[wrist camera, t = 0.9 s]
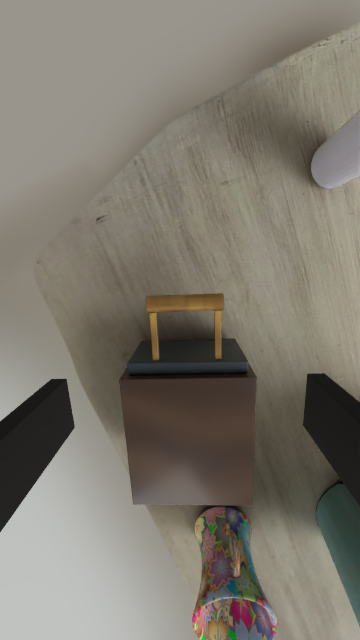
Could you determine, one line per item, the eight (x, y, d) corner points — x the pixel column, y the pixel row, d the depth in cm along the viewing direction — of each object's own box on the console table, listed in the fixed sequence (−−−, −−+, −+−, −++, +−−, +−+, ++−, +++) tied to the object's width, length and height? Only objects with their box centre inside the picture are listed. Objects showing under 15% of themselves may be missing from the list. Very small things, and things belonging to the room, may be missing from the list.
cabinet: (138, 347, 30) (119, 379, 22) (238, 345, 29) (257, 377, 21) (147, 444, 34) (133, 504, 25) (236, 444, 33) (252, 505, 24)
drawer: (137, 290, 28) (120, 298, 21) (235, 286, 27) (250, 293, 20) (149, 435, 32) (138, 479, 25) (233, 434, 31) (245, 480, 25)
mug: (249, 547, 37) (272, 657, 27) (190, 543, 37) (190, 649, 27) (257, 486, 34) (286, 581, 24) (194, 482, 35) (195, 574, 24)
